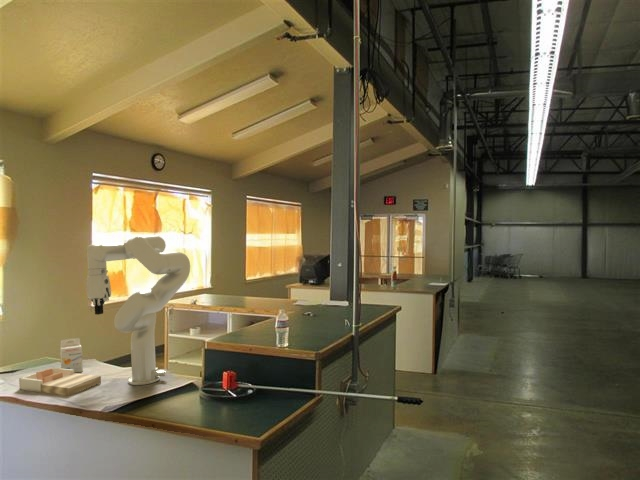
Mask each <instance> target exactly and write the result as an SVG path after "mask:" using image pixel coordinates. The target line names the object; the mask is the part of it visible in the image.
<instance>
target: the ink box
mask: <svg viewBox="0 0 640 480" xmlns="http://www.w3.org/2000/svg"><path fill="white" fill-rule="evenodd" d="M59 343H60V347H59V351H60V353H59V354H60V368H63V369H73V370H74V373H83V371H84V370H83V369H84V368H83V347H82V345H81V338H80V337H76V338H66V339H60V342H59Z"/></svg>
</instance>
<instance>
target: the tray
mask: <svg viewBox="0 0 640 480" xmlns="http://www.w3.org/2000/svg"><path fill="white" fill-rule="evenodd" d="M51 368H52V372H53V374H56V373H62V374H63V377H64V376H67V375H70V374H73V373H74V370H73V369H63V368H61V367H50V368H49V369H51ZM18 382H19V383H18V384H19V390H22V391H23V390H24V391H30V392H38V393H42V392H41V384H43V380H37V376H36V372H35V373H31V374H29V375H25V376H21V377H19V378H18Z"/></svg>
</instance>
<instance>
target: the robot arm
mask: <svg viewBox="0 0 640 480" xmlns="http://www.w3.org/2000/svg"><path fill="white" fill-rule="evenodd" d="M166 246H167V245H166V241H165V240H164V239H163V237H161V236H159V235H154V234H151V235H137V236H135V237H133V238H130V239H128V240H127V241H125V242H117V243H103V244H100V243H99V244H89V245H87V247H86V252H87V254H86V255H87V257H86V259H87V277H86V286H85V287H86V291H85V292H86V296H87V298H88V299H87V300H88V301H89V302H92V304H93V306H94V314H95V315H98V316H99V315H102V314H104V305H105V302H108V301H109V300H110V298H111V297H112V290H111V289H112V288H111V281H110V280H111V279H110V276H109V275H108V272H109V271H108V269H107V268H108V266H107V262H113V261H124V260H130V259H133V260H135V259H136V260H137V261H138V262H139V263H141V265H142V266H143V267H144V268H145V269H147V270H148V272H149V273H150V272H151V273H152V274H153V275H157V276H158V275H161V276H162V275H163V276H162V277H160V279H158V281H156V283H155V284H154V286H152V287H151V288H149V289H145V290H141V291H137V292H135V293H133V294H131V295H130V296H129V297H128V298H127V299H126V301H125V302H124V303H123V305H121V307H120V308H119V310H117V312H116V314H115V316H114V320H113V324H114V328H115V329H116V330H117V331H118V332H120V333H123V334H125V333H126V334H128V333H131V332H132V333H131V335H130V337H131V338H130V356H131V357H130V358H131V361H130V362H131V377H129V378H128V380H127V383H128V384H129V385H132V386H133V385H134V386H145V385H150V384H154V383H157V382H158V381H160V379H161V377H166V376H167V372H166V371H165V370H159V368H158V367H156V366H157V365H156V364H157V363H156V345H155V343H156V342H155V340H156V337H155V335H156V334H155V331H156V324H157V323H156V322H157V313H158V312H160V311H162V310H163V309H164V308H165V306H166V305H167V304H168V303H169V302H170V300H171V299H172V298H173V297H174V296H175V294H176V293H177V292H178V290H180V289H181V288H182V286H183V285H184V284H185V283H186V281H187V280H188V278H189V276H190V273H191V262H190V259H189V256H188V255H186V254H185V253H183V252H180V251H167V252H165V249H166Z"/></svg>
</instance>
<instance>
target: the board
mask: <svg viewBox="0 0 640 480" xmlns="http://www.w3.org/2000/svg"><path fill="white" fill-rule="evenodd" d="M101 378H102V377H101V375H94V374H85V373H79V372H76V373H73V374H70V375H67V376H64V377H61V378H58V379H55V380H52V381H49V382H47V383H44V384H41V392H40V393H46V394H53V395H59V396H65V397H66V396H68V397H69V396H72V395H75V394H77V393H80V392H82V391H84V389H85V390H87V389H90V388H91V386H92V387H94V385H95V386H97V385H96V384H98V385H100V384H101V383H102V379H101ZM99 383H100V384H99ZM89 387H90V388H89ZM86 388H87V389H86ZM81 390H82V391H81ZM79 391H80V392H79ZM76 392H77V393H76Z"/></svg>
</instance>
